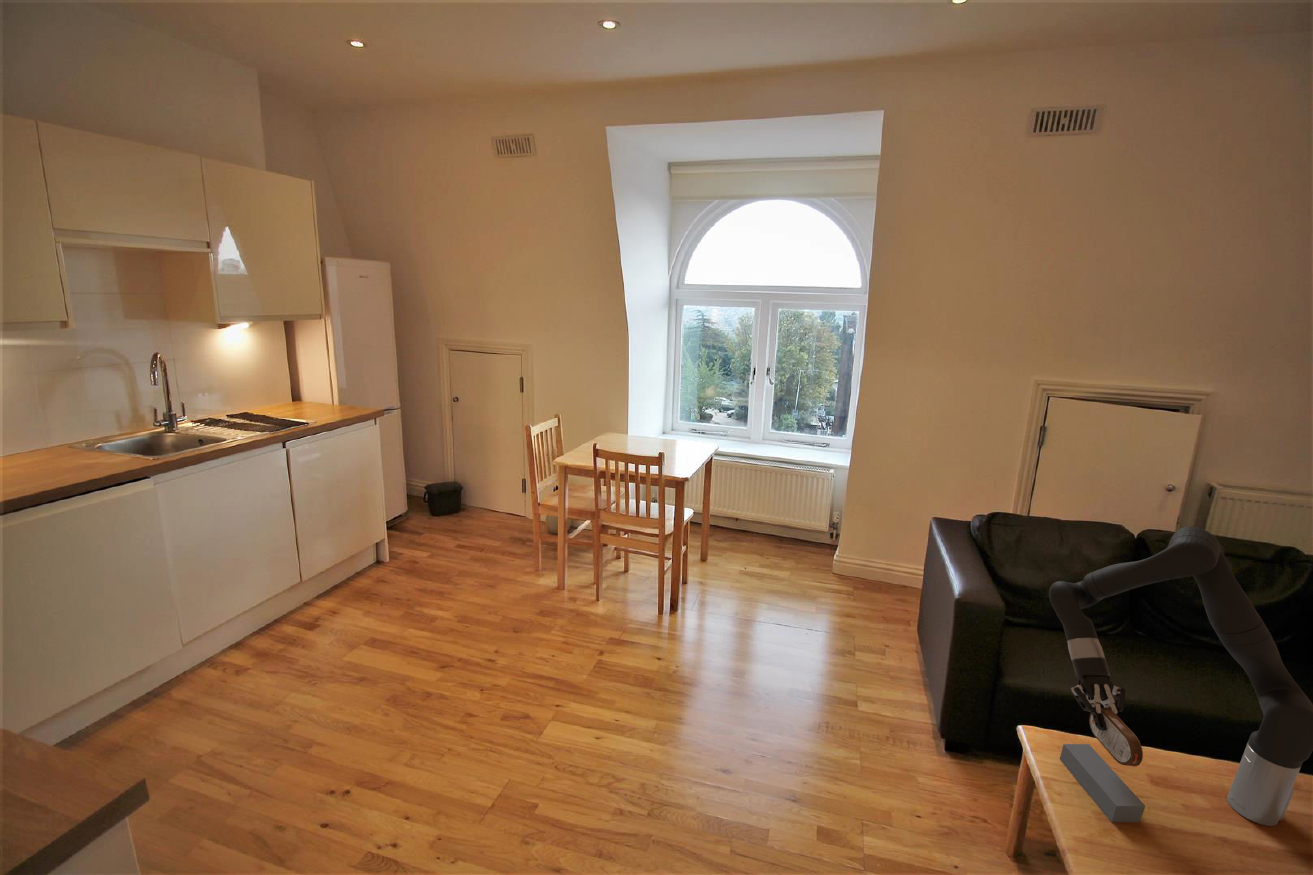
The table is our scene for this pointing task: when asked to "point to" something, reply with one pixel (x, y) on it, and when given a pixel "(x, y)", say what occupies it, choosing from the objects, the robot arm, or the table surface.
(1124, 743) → the tin
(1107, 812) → the base brick
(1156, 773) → the table surface
